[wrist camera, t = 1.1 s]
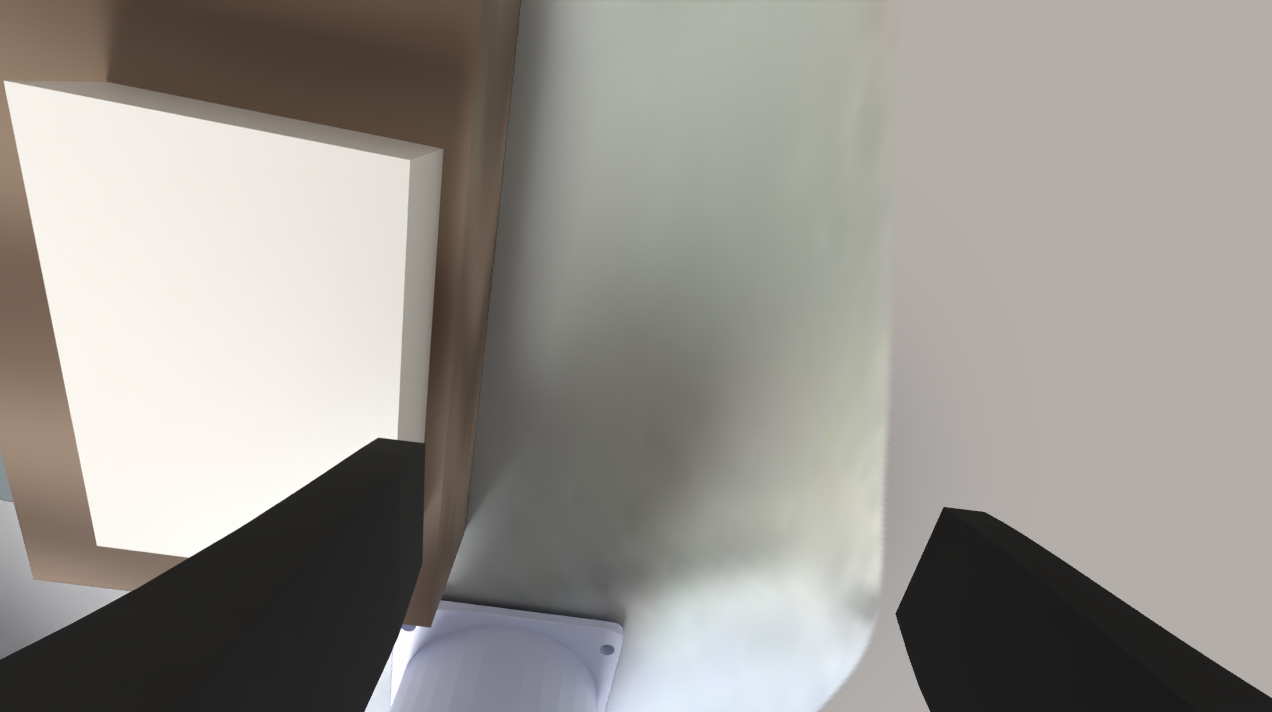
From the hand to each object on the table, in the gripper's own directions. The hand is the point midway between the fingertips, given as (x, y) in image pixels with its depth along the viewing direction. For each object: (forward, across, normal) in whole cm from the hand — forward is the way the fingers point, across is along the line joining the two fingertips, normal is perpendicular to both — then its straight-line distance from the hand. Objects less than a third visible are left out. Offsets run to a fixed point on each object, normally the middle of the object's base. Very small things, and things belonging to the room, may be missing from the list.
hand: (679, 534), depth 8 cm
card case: (+6, +8, 0) cm, 10 cm away
